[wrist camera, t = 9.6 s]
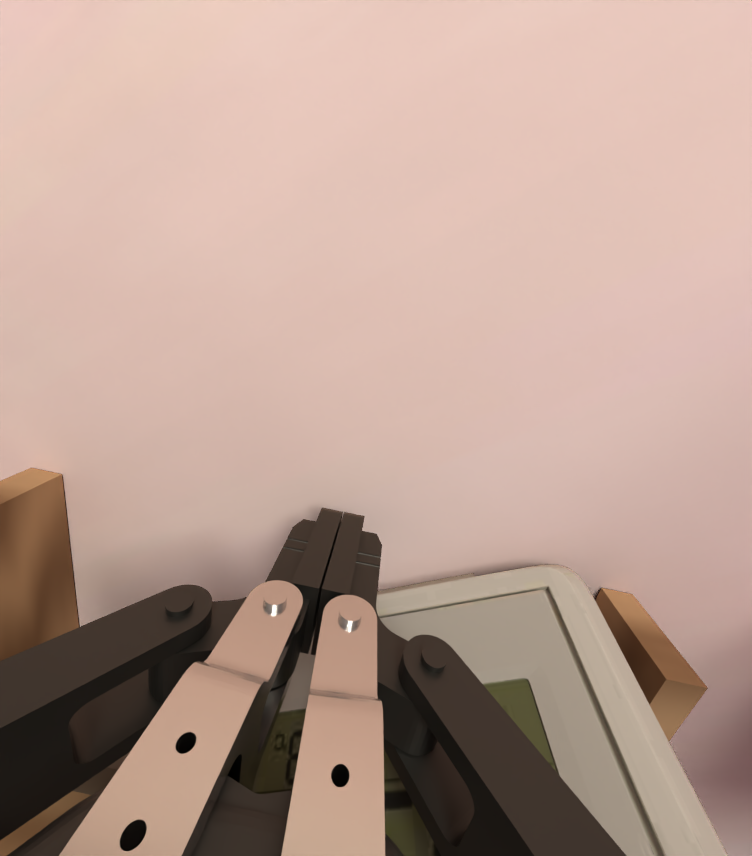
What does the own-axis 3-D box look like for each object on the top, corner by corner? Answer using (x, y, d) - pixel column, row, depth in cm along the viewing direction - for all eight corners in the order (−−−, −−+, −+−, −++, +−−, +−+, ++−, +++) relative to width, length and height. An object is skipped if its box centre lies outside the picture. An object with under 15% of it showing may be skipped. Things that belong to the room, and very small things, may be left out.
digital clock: (590, 543, 13) (1236, 1356, 3) (571, 713, 16) (865, 1422, 6) (175, 557, 15) (-334, 1115, 4) (225, 709, 17) (-18, 1260, 7)
